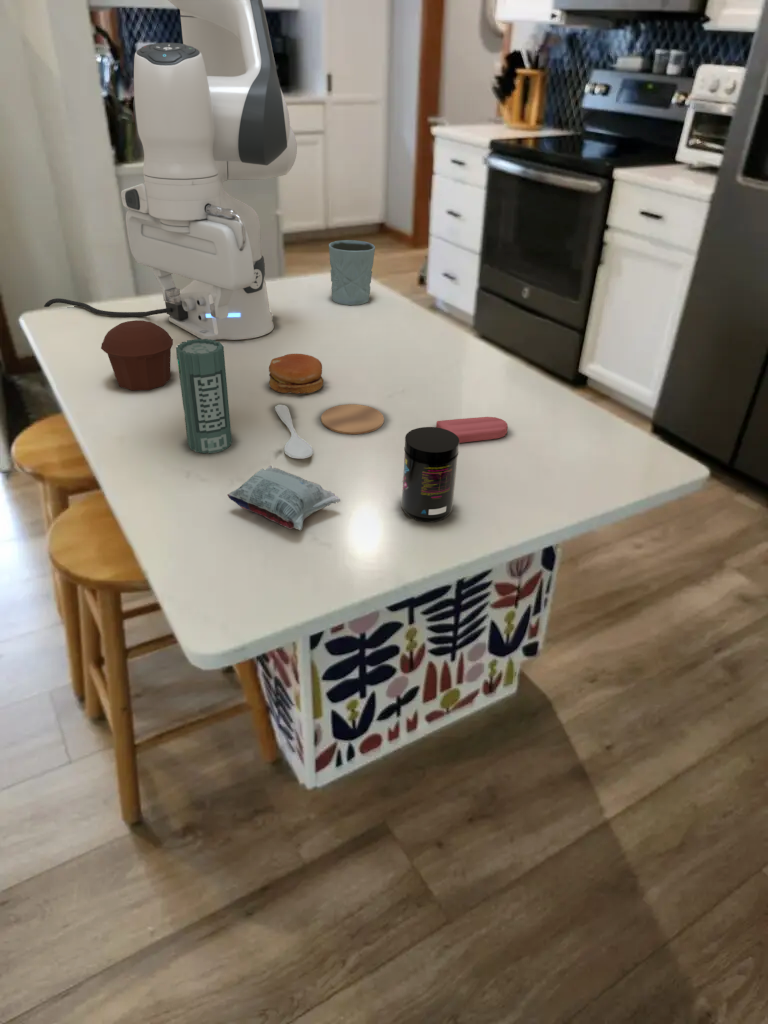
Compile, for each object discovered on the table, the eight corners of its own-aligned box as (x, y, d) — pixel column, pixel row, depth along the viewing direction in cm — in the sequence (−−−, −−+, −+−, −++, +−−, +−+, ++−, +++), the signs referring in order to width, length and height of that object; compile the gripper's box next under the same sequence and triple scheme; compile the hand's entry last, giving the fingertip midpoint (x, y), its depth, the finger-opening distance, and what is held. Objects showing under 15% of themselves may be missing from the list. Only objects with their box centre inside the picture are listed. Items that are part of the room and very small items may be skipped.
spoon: (288, 468, 105) (288, 458, 104) (267, 406, 121) (266, 397, 121) (317, 465, 106) (317, 455, 105) (292, 404, 122) (292, 395, 122)
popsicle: (410, 422, 115) (500, 414, 118) (409, 431, 116) (498, 423, 119) (420, 438, 111) (513, 429, 114) (420, 447, 111) (512, 438, 115)
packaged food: (272, 482, 102) (270, 451, 99) (341, 512, 96) (341, 479, 93) (227, 511, 96) (223, 478, 93) (297, 544, 90) (295, 510, 87)
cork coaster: (308, 421, 118) (308, 418, 117) (348, 401, 124) (348, 398, 124) (357, 440, 113) (357, 438, 112) (396, 418, 119) (396, 416, 119)
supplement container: (435, 491, 101) (441, 422, 95) (462, 516, 96) (470, 445, 90) (391, 503, 98) (395, 432, 93) (417, 529, 93) (422, 456, 88)
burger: (329, 393, 127) (329, 367, 124) (276, 399, 124) (274, 373, 121) (315, 371, 134) (314, 346, 132) (264, 376, 132) (262, 351, 129)
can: (223, 430, 114) (215, 336, 106) (236, 448, 109) (227, 351, 101) (184, 438, 111) (172, 342, 103) (195, 456, 107) (183, 357, 99)
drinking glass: (320, 298, 169) (319, 244, 163) (349, 289, 176) (350, 237, 169) (353, 309, 164) (353, 253, 158) (382, 299, 171) (384, 245, 164)
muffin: (170, 363, 135) (163, 309, 130) (185, 387, 127) (178, 330, 121) (102, 373, 130) (91, 317, 125) (113, 398, 122) (102, 339, 117)
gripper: (262, 208, 89) (268, 321, 96) (152, 185, 99) (165, 289, 106) (222, 215, 84) (232, 333, 92) (111, 191, 95) (128, 299, 102)
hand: (195, 309), depth 99 cm, fingers open, 8 cm apart
